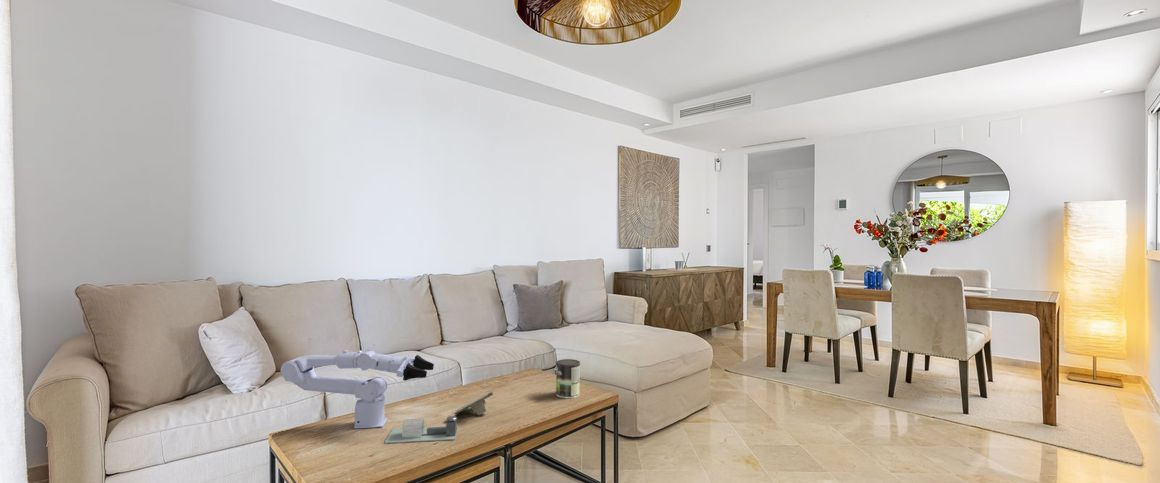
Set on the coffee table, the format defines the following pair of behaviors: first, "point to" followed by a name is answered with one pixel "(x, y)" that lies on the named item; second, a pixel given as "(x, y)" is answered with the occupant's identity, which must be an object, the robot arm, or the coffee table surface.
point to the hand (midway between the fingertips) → (429, 370)
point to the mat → (397, 438)
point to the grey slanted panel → (476, 405)
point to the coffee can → (567, 378)
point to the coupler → (445, 428)
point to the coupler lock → (412, 428)
